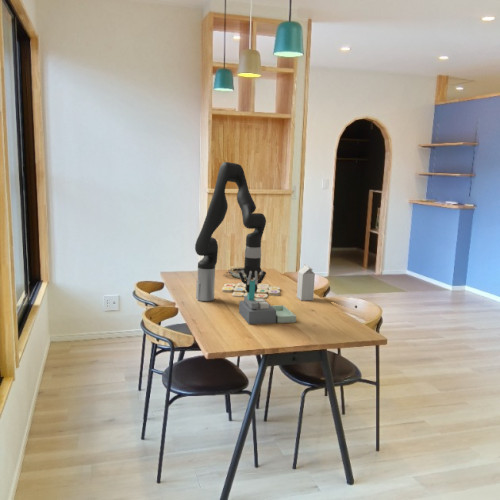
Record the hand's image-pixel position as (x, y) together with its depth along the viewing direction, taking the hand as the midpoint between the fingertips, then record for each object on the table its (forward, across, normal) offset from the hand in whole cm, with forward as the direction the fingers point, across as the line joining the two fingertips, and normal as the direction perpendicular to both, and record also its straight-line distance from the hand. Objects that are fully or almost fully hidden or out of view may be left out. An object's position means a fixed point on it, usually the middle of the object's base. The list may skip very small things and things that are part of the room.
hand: (251, 291), depth 232 cm
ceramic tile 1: (+7, -5, +3) cm, 9 cm away
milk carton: (+13, -40, -30) cm, 52 cm away
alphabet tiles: (+14, -15, -51) cm, 55 cm away
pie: (+14, -20, -89) cm, 93 cm away
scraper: (+6, 0, 0) cm, 6 cm away
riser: (+13, -3, 0) cm, 13 cm away
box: (+13, -15, 0) cm, 20 cm away
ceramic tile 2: (+7, -5, -3) cm, 9 cm away
